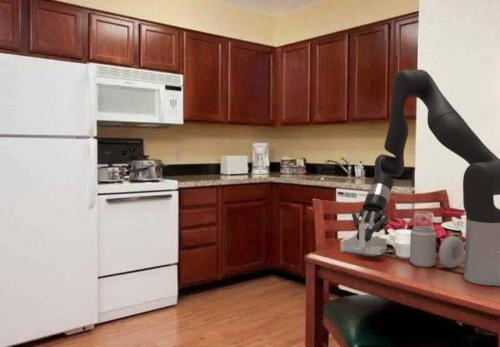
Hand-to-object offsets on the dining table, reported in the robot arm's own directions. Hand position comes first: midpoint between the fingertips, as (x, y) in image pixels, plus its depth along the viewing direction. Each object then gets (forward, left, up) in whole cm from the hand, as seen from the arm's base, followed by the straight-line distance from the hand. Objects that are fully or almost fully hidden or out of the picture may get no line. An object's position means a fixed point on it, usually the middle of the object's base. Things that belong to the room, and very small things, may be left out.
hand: (362, 239), depth 140 cm
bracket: (-3, -2, -4) cm, 5 cm away
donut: (-26, -8, -7) cm, 28 cm away
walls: (+4, -11, -7) cm, 13 cm away
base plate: (+4, -11, -7) cm, 13 cm away
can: (-18, -6, -7) cm, 20 cm away
